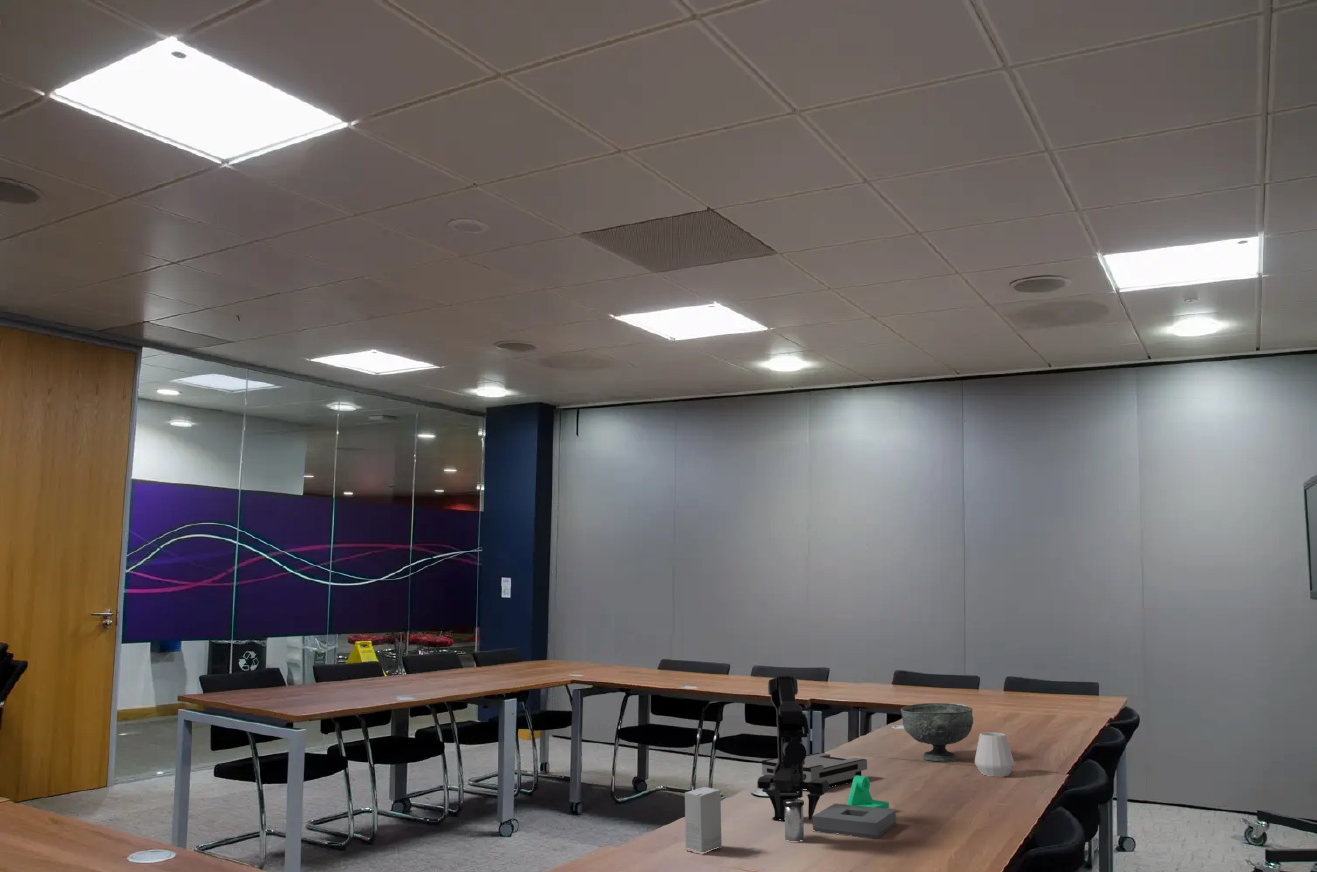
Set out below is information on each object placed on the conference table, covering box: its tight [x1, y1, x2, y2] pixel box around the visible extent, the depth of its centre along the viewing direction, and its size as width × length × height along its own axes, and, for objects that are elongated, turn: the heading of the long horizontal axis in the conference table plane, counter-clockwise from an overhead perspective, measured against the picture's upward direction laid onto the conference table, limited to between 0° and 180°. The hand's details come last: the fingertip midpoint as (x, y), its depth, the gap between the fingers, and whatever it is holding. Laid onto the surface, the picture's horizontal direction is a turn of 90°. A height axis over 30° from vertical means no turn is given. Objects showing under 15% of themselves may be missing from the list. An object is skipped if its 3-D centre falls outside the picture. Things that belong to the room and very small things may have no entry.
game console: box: [761, 752, 868, 790], centre depth 338 cm, size 21×32×8 cm, turn 134°
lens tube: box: [783, 798, 805, 841], centre depth 262 cm, size 6×6×10 cm
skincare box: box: [684, 786, 723, 852], centre depth 253 cm, size 8×6×15 cm
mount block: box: [812, 803, 897, 840], centre depth 273 cm, size 18×18×4 cm
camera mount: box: [846, 775, 890, 809], centre depth 292 cm, size 12×8×10 cm, turn 136°
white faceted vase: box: [974, 731, 1015, 777], centre depth 347 cm, size 13×13×14 cm
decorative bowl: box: [900, 702, 974, 763], centre depth 379 cm, size 26×26×20 cm
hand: (794, 817), depth 262 cm, fingers open, 9 cm apart
